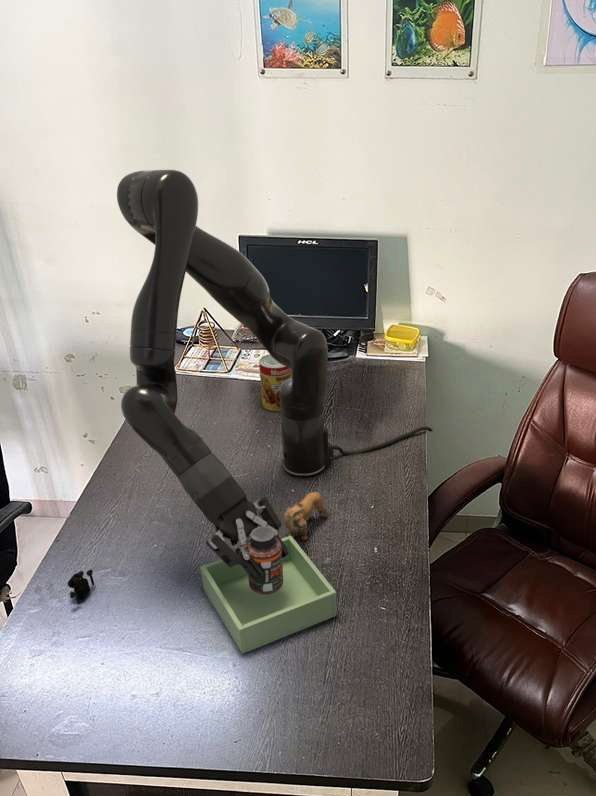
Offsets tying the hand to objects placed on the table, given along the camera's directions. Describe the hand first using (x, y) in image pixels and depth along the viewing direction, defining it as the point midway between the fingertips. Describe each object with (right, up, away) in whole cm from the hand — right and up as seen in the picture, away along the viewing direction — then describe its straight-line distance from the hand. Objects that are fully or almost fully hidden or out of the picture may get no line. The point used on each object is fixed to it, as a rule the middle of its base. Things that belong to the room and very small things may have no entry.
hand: (272, 566), depth 125 cm
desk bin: (-2, -7, +6) cm, 9 cm away
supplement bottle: (-2, -4, +4) cm, 5 cm away
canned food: (-8, +36, +64) cm, 74 cm away
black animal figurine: (-35, -6, +7) cm, 36 cm away
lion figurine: (+4, +5, +23) cm, 24 cm away
